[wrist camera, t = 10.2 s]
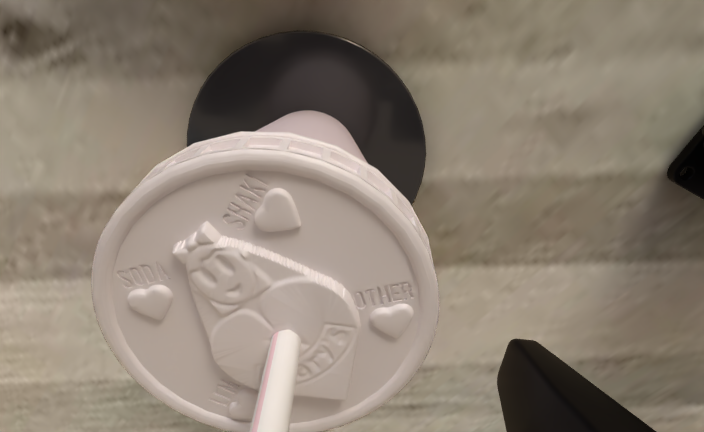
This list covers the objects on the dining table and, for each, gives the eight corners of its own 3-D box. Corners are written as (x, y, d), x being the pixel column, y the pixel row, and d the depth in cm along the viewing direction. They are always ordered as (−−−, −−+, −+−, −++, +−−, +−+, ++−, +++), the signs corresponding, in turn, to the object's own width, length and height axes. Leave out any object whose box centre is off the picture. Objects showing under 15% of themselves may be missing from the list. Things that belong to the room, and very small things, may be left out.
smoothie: (296, 262, 19) (188, 790, 6) (186, 141, 17) (-347, 567, 4) (426, 176, 17) (649, 638, 4) (324, 30, 15) (196, 127, 2)
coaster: (468, 105, 17) (472, 108, 16) (356, 286, 20) (356, 294, 19) (243, -21, 15) (239, -23, 14) (160, 200, 18) (154, 206, 18)
